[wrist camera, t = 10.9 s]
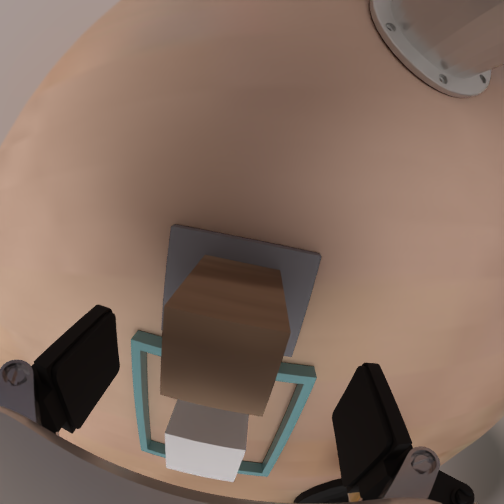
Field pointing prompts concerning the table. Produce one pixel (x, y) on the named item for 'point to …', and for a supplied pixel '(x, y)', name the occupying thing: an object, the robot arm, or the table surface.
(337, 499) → the microphone
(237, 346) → the walnut block
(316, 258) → the mat
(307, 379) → the tray
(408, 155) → the table surface
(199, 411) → the grey block
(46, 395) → the robot arm
